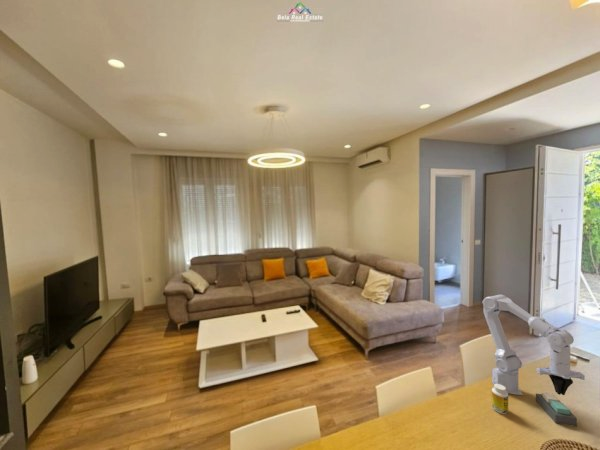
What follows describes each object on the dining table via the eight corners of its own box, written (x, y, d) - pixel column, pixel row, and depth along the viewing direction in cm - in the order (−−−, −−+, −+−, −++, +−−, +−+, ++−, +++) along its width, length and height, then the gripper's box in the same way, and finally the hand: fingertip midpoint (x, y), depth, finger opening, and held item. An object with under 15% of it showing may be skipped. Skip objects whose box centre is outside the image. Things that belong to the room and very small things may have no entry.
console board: (555, 423, 100) (555, 420, 100) (535, 400, 112) (535, 398, 112) (576, 426, 98) (576, 424, 98) (554, 403, 110) (554, 401, 110)
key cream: (548, 403, 107) (548, 398, 106) (541, 396, 110) (541, 392, 110) (559, 404, 105) (559, 400, 105) (553, 398, 109) (553, 393, 109)
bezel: (555, 420, 100) (555, 414, 100) (535, 398, 112) (535, 393, 112) (576, 424, 98) (577, 418, 98) (554, 401, 110) (554, 396, 110)
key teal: (557, 412, 101) (557, 408, 101) (550, 405, 105) (550, 401, 105) (569, 414, 100) (569, 409, 100) (562, 407, 104) (562, 402, 104)
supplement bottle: (505, 417, 104) (505, 393, 104) (489, 408, 109) (489, 385, 108) (510, 410, 107) (510, 387, 107) (494, 403, 112) (494, 380, 111)
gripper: (544, 363, 100) (544, 396, 101) (591, 368, 96) (590, 403, 97) (533, 354, 107) (533, 385, 107) (576, 358, 103) (576, 391, 103)
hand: (559, 393), depth 102 cm, fingers closed
